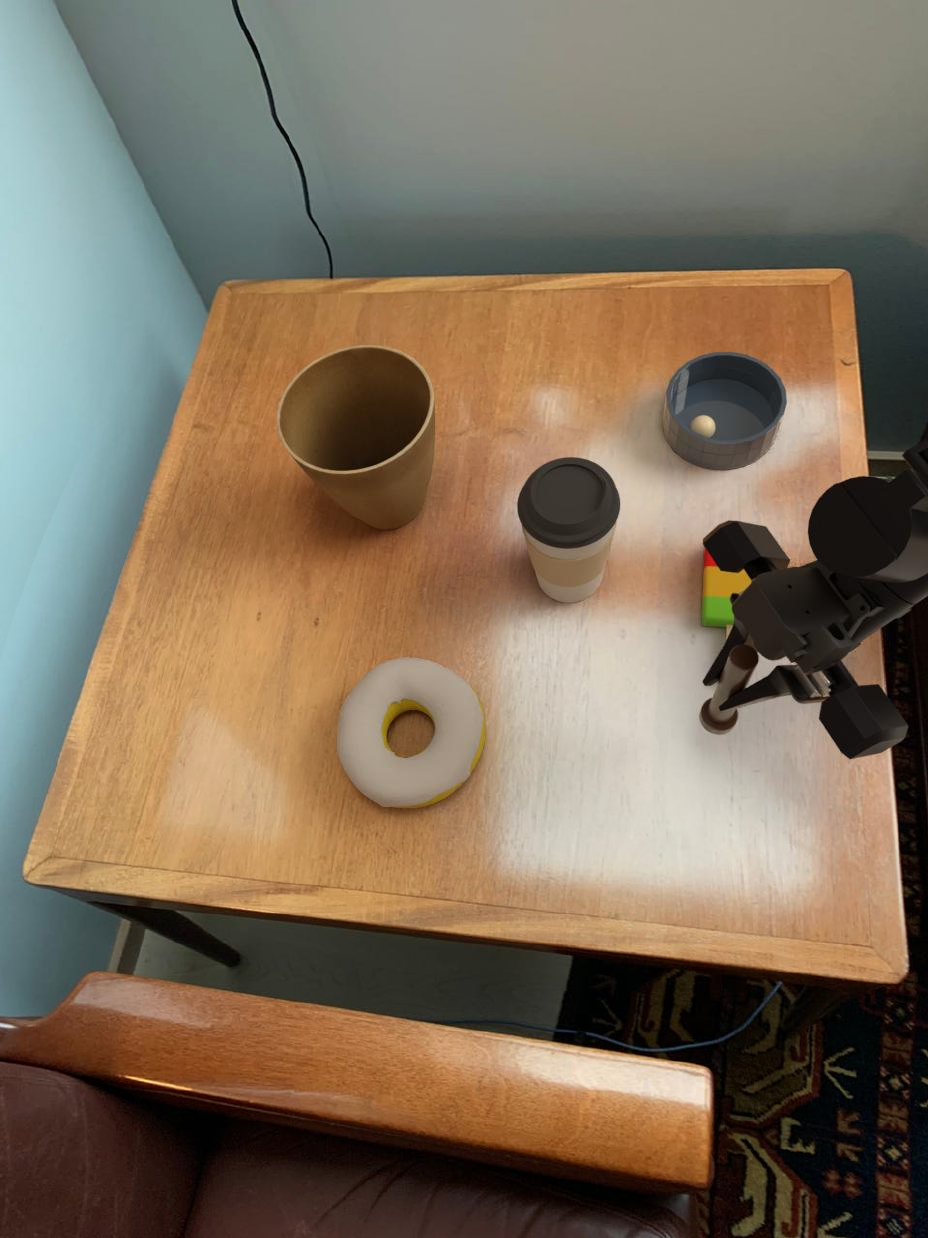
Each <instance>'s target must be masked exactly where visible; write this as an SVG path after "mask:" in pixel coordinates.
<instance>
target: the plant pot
mask: <svg viewBox="0 0 928 1238" xmlns="http://www.w3.org/2000/svg"><path fill="white" fill-rule="evenodd" d="M288 383H289V384H288V385H287V386H286V388H285V390H284V391H283V393H282V395H281V397H280V399H279V403H278V405H277V409H276V429H277V430H276V431H277V433H278V434H277V435H278V437H279V440H280V442H281V444H282V446H283V447H284V449H285V450H286V451H287V452H288V455H290V456H291V457H292V459H293V461H295V462H296V464H297V465H298V466H299V467H300V468H301V469H302V471H303V472H304V473H305V474H306V475H307V476H308V478H309V479H310V480H311V481H312V482H313V483H314V484H315V485H316V486H317V487H318V488H319V489H320V490H321V491H322V493H324V494H325V495H326V496H327V497H329V498H330V499H331V500H332V501H333V502H334V503H335V504H337V505H338V506H339V507H340V508H342V509H343V510H345V511H346V512H347V513H348V514H350V515H351V516H353V517H355V518H356V519H358V520H359V521H361V522H363V523H365V524H366V525H368V526H370V527H372V528H374V529H378V530H385V531H386V530H395V529H398V528H399V529H400V528H402V527H404V526H406V525H408V524H409V523H412V522H413V521H414V520H415V518H417V516H418V515H419V513H420V512H421V510H422V508H423V505H424V503H425V499H426V496H427V493H428V491H429V486H430V482H431V478H432V472H433V466H434V457H435V448H436V446H435V445H436V405H435V392H434V386H433V384H432V381H431V379H430V376H429V374H428V373H427V371H426V369H425V368H424V367H423V365H422V364H421V363H420V362H419V361H417V360H416V359H415V358H414V357H412V356H411V355H409V354H407V353H405V352H403V351H401V350H399V349H396V348H394V347H390V346H386V345H385V346H384V345H379V344H359V345H351V346H347V347H346V346H345V347H343V348H339V349H334V350H333V351H330V352H327V353H325V354H324V355H322V356H319V357H318V358H316V359H315V360H313V361H311V362H310V363H309V364H307V365H306V366H305V367H304V368H302V369H301V370H300V371H299V372H298V373H297V374H296V375H295V376H294V377H293V379H291V381H290V382H288Z"/></svg>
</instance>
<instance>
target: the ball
mask: <svg viewBox="0 0 928 1238" xmlns="http://www.w3.org/2000/svg"><path fill="white" fill-rule="evenodd" d="M690 429H691V430H692V431H693V432H696V433H698V434H700V435H703V436H705V437H708V438H710V437H712V435H713V434H714V432H715V422H714V421H713V419H712V418H710V417H709V416H706V415H701V416H698V417H696V418H695V419H694V420H693V421H692V422H691V424H690Z"/></svg>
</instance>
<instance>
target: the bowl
mask: <svg viewBox="0 0 928 1238" xmlns="http://www.w3.org/2000/svg"><path fill="white" fill-rule="evenodd" d="M787 403H788V399H787V389H786V387H785V385H784V383H783V381H782V379H781V377H780V376H779V374H778V373H777V372H776V371H775V370H774V369H773V368H772V367H771V366H770V365H769V364H766V362H764V361H762V360H761V359H759V358H756V357H754V356H751V355H748V354H746V353H740V352H734V351H714V352H710V353H706V354H701V355H699V356H697V357H694V358H692V359H690V360H688V361H686V362H685V363H684V364H683V365H681V366H680V367H679V368H678V369H677V370H676V371H675V372H674V374H673V375H672V377H670V379H669V382H668V384H667V388H666V391H665V400H664V406H663V413H662V431H663V434H664V437H665V439H666V442H667V443H668V445H669V446H670V448H671V449H672V450H673V451H674V452H675V453H676V454H677V455H678V456H679V457H681V458H682V459H683V460H685V461H686V462H689V463H690V464H692V465H694V466H698V467H700V468H704V469H708V470H716V471H718V470H719V471H725V470H726V471H727V470H734V469H740V468H744V467H746V466H748V465H751V464H753V463H755V462H756V461H758V460H760V459H761V458H762V457H764V456H765V455H766V454H767V453H768V452H769V450H770V449H771V448H772V447H773V445H774V443H775V441H776V439H777V436H778V434H779V430H780V427H781V425H782V421H783V419H784V416H785V412H786V409H787ZM701 415H706V416H709V417H710V418H712V419H713V421H714V422H715V432H714V434H713V435H712V437H710V438H708V437H705V436H703V435H700V434H698V433H696V432H693V431H692V430H691V429H690V424H691V422H692V421H693V420H694V419H695V418H696V417H698V416H701Z"/></svg>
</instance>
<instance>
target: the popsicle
mask: <svg viewBox="0 0 928 1238" xmlns="http://www.w3.org/2000/svg"><path fill="white" fill-rule="evenodd" d="M702 570H703V571H702V576H703V577H702V602H701V624H702V625H703V626H706V627H717V628H719V627H720V628H725V637H726V638H725V641H726V640H727V638H728V636H729V633H730V631H731V629H732V627H733V624H734V614H733V612H732V604H731V603H730V596H731V594H732V593H740V592H742V591H743V590H744V589H745V588H747V587H748V586H749V585H750V584H751V579H750V578H749V576H748V575H747V573H746V572H745V570H744V569H743V570H742V571H741V572H739V573H732V572H725V571H720V569H719V568H718V566H717V565H716V563H715V562H714V560H713V559H712V557H711V556H710V554H709V553H708V551H707V550H706V548H705V547H704V551H703V569H702Z"/></svg>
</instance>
